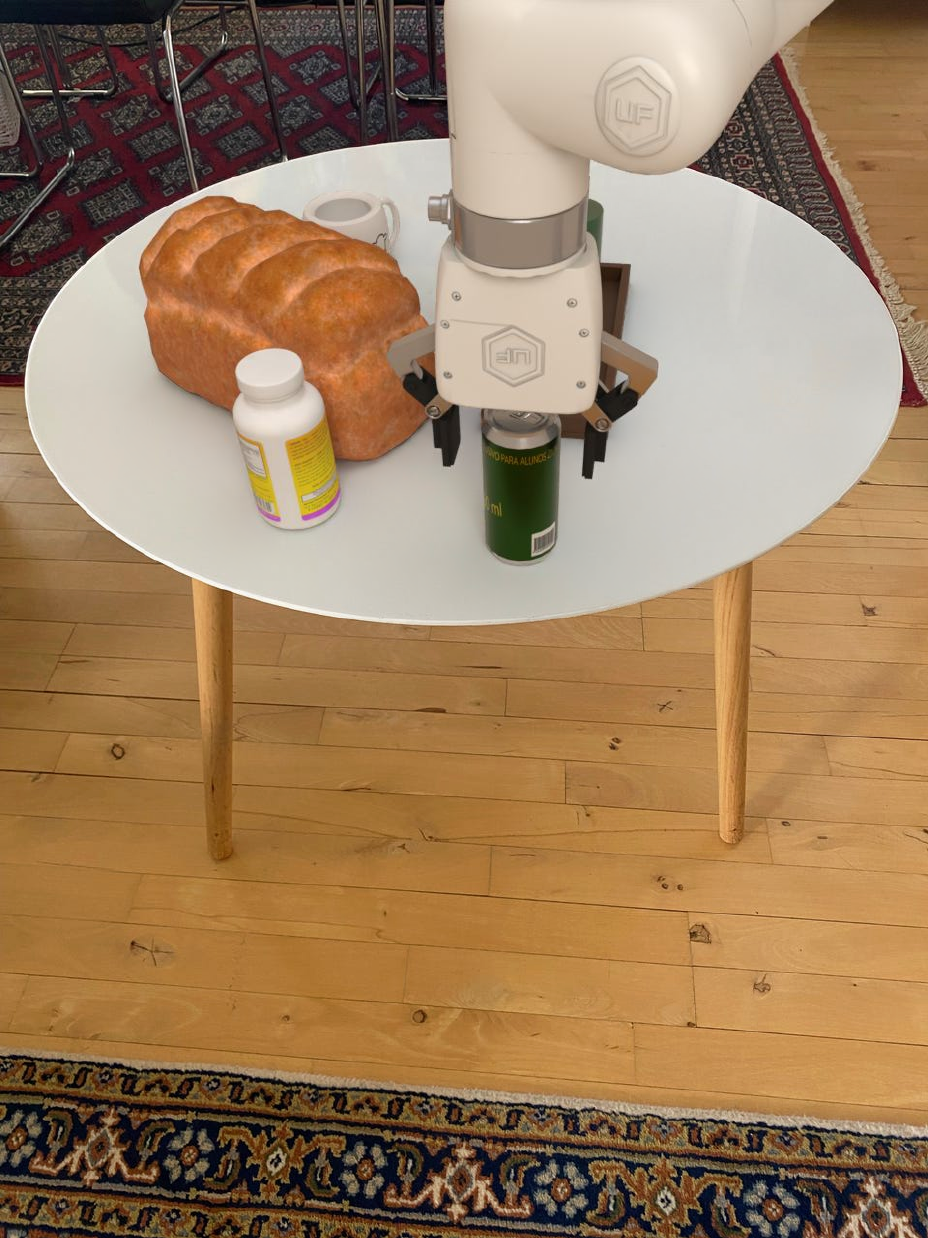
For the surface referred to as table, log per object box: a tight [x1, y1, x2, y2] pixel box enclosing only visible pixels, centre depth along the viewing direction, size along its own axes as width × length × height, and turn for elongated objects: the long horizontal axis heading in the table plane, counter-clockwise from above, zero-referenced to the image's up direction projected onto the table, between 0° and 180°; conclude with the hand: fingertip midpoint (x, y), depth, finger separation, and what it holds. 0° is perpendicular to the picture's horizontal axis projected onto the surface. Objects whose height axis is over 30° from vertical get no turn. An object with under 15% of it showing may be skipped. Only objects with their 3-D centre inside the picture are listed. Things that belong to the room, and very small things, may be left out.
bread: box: [138, 195, 436, 462], centre depth 83 cm, size 14×26×16 cm, turn 52°
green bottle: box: [586, 175, 605, 265], centre depth 92 cm, size 5×5×12 cm
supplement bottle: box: [232, 348, 342, 531], centre depth 74 cm, size 7×7×13 cm
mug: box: [301, 189, 401, 255], centre depth 100 cm, size 12×8×8 cm
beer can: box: [480, 409, 562, 567], centre depth 70 cm, size 5×5×12 cm
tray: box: [480, 261, 632, 440], centre depth 90 cm, size 11×26×2 cm, turn 170°
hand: (519, 460), depth 68 cm, fingers open, 9 cm apart
